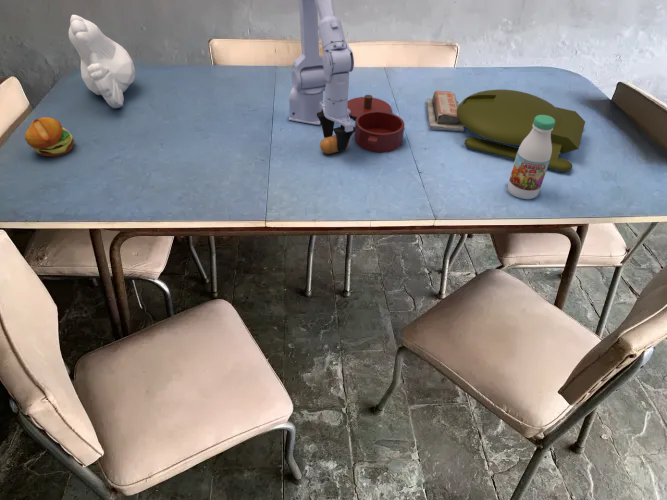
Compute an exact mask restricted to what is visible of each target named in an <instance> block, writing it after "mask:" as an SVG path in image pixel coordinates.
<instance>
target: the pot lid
mask: <svg viewBox="0 0 667 500" xmlns="http://www.w3.org/2000/svg"><path fill="white" fill-rule="evenodd" d="M347 108H348V109H349V110H350V111H351V113H350V114H349V117H352V118H354V119H357V117H358V116H359V115H361V114H363V113H366V112H371V111H382V110H383V109H384V110H390V111H391V112H390V113H392V107H391V105H390V104H389V103H388V102H387V101H385V100H383V99H380V98H377V97H373V95H371V94H364V96H359V97H354V98H351V99H348V106H347Z"/></svg>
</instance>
